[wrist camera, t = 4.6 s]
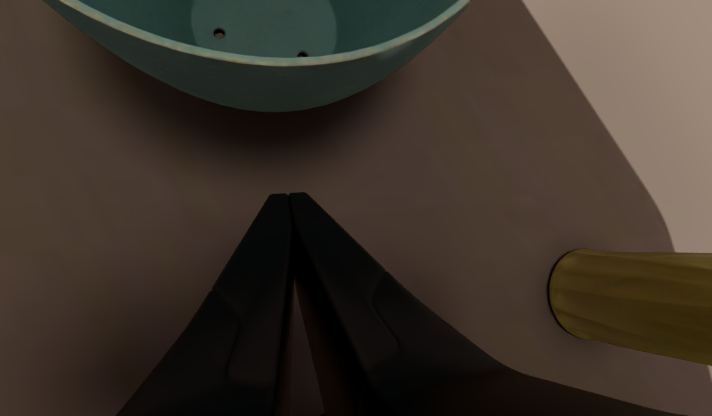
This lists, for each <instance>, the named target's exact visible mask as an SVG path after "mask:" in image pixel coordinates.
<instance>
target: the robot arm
mask: <svg viewBox="0 0 712 416" xmlns="http://www.w3.org/2000/svg"><path fill="white" fill-rule="evenodd" d="M294 281H295V286H296V291H297V296H298V300H299V304H300V308H301V312H302V317H303V321H304V325H305V329H306V334H307V338H308V342H309V346H310V350H311V355H312V359H313V363H314V367H315V372H316V376H317V380H318V384H319V388H320V393H321V397H322V401H323V405H324V410H325V414H322V415H320V416H686V415H680V414H673V413H668V412H664V411H659V410H655V409H651V408H647V407H643V406H640V405H636V404H632V403H629V402H625V401H621V400H617V399H614V398H610V397H606V396H603V395H599V394H595V393H592V392H588V391H584V390H581V389H577V388H573V387H570V386H566V385H562V384H559V383H555V382H551V381H548V380H544V379H540V378H536V377H533V376H529V375H526V374H523V373H520V372H518V371H515V370H513V369H511V368H509V367H507V366H505V365H503V364H502V363H500V362H498V361H497V360H495V359H494V358H492V357H491V356H489V355H488V354H487V353H485V352H484V351H483V350H481V349H480V348H479V347H477V346H476V345H475V344H474V343H472V342H471V341H470V340H468V339H467V338H466V337H465V336H463V335H462V334H461V333H459V332H458V331H457V330H456V329H454V328H453V327H452V326H450V325H449V324H448V323H447V322H445V321H444V320H443V319H441V318H440V317H439V316H438V315H436V314H435V313H434V312H432V311H431V310H430V309H429V308H428V307H426V306H425V305H424V304H423V303H421V302H420V301H419V300H418V299H417V298H415V297H414V296H413V295H412V294H411V293H410V292H409V291H408V290H407V289H405V288H404V287H403V286H402V285H401V284H400V283H399V282H398V281H397V280H396V279H395V278H394V277H393V276H392V275H391V274H390V273H388V272H387V271H385V269H384V268H383V267H382V266H381V265H380V264H379V263H378V262H377V261H376V260H375V259H374V258H373V257H372V256H371V255H370V254H369V253H368V252H367V251H366V250H365V249H364V248H363V247H362V246H360V245H359V244H358V243H357V242H356V241H355V240H354V239H353V238H352V237H351V236H350V235H349V234H348V233H347V232H346V231H345V230H344V229H343V228H342V227H341V226H340V225H339V224H338V223H337V222H336V221H335V220H334V219H333V218H332V217H331V216H330V215H329V214H328V213H327V212H325V211H324V210H323V209H322V208H321V207H320V206H319V205H318V204H317V203H316V202H315V201H314V200H313V199H312V198H311V197H310V196H309V195H308V194H307V193H305V192H300V193H290V194H289V195H287V194H286V193H282V194H271V195H269V197H268V198H267V200H266V202H265V203H264V205H263V206H262V208H261V210H260V211H259V213H258V215H257V216H256V218H255V219H254V221H253V223H252V224H251V226H250V227H249V229H248V231H247V232H246V234H245V235H244V237H243V239H242V240H241V242H240V243H239V245H238V247H237V248H236V250H235V252H234V253H233V255H232V256H231V258H230V260H229V261H228V263H227V264H226V266H225V268H224V269H223V271H222V272H221V274H220V276H219V277H218V279H217V281H216V282H215V284H214V285H213V287H212V291H210V292H209V293H208V295H207V296H206V298H205V300H204V301H203V303H202V304H201V306H200V307H199V309H198V310H197V312H196V313H195V315H194V316H193V318H192V319H191V321H190V322H189V324H188V325H187V327H186V328H185V329H184V331H183V332H182V333H181V335H180V336H179V337H178V339H177V340H176V341H175V343H174V344H173V345H172V346H171V348H170V349H169V350H168V352H167V353H166V354H165V355H164V357H163V358H162V359H161V360H160V362H159V363H158V364H157V365H156V367H155V368H154V369H153V370H152V372H151V373H150V374H149V375H148V377H147V378H146V379H145V380H144V382H143V383H142V384H141V385H140V386H139V388H138V389H137V390H136V391H135V393H134V394H133V395H132V396H131V398H130V399H129V400H128V401H127V403H126V404H125V405H124V406H123V408H122V409H121V410H120V411H119V413H118V414H117V415H116V416H289V398H290V373H291V349H292V325H293V301H294Z"/></svg>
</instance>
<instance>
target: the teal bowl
mask: <svg viewBox="0 0 712 416" xmlns="http://www.w3.org/2000/svg"><path fill="white" fill-rule="evenodd" d="M43 1H44V2H46V3H47V4H48V5H49V6H51V7H52V8H53V9H54V10H55V11H57V12H58V13H59V14H60V15H62V16H63V17H64V18H65V19H67V20H68V21H69V22H70V23H72V24H73V25H74V26H75V27H77V28H78V29H79V30H81V31H82V32H83V33H85V34H86V35H88V36H89V37H90V38H92V39H93V40H95V41H96V42H97V43H99V44H100V45H102V46H103V47H104V48H106V49H107V50H109V51H110V52H112V53H114V54H115V55H117V56H118V57H120V58H121V59H123V60H124V61H126V62H127V63H129V64H131V65H132V66H134V67H136V68H137V69H139V70H141V71H143V72H144V73H146V74H148V75H150V76H152V77H154V78H156V79H158V80H160V81H162V82H164V83H166V84H168V85H170V86H172V87H174V88H176V89H178V90H180V91H183V92H185V93H188V94H190V95H192V96H195V97H197V98H201V99H204V100H207V101H210V102H213V103H216V104H219V105H223V106H228V107H233V108H237V109H243V110H250V111H259V112H290V111H299V110H306V109H310V108H315V107H320V106H324V105H327V104H331V103H333V102H336V101H339V100H341V99H344V98H347V97H349V96H351V95H354V94H356V93H358V92H360V91H362V90H364V89H366V88H368V87H370V86H372V85H374V84H375V83H377V82H379V81H381V80H382V79H384V78H386V77H387V76H389V75H390V74H392V73H393V72H395V71H396V70H397V69H399V68H400V67H402V66H403V65H404V64H406V63H407V62H408V61H410V60H411V59H412V58H413V57H415V56H416V55H417V54H418V53H419V52H421V51H422V50H423V49H424V48H426V47H427V46H428V45H429V44H430V43H431V42H432V41H433V40H435V39H436V38H437V37H438V36H439V35H440V34H441V33H442V32H443V31H444V30H445V29H446V28H447V27H448V26H449V25H450V24H451V23H452V22H453V21H454V20H455V19H456V18H457V17H458V16H459V15H460V14H461V13H462V12H463V11H464V10H465V8H466V7H467V6H468V5H469V4H470V2H471V1H472V0H43ZM215 30H222V31H223V32H224V33H225V35H224V37H223V38H221V39H219V38H216V37H215V36H214V32H215ZM300 53H304V54H306V55H307V57H298V55H299V54H300Z"/></svg>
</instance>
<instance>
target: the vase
mask: <svg viewBox="0 0 712 416" xmlns="http://www.w3.org/2000/svg"><path fill="white" fill-rule="evenodd" d="M549 296H550V303H551V307H552V309H553V312H554V314H555V316H556V318H557V320H558V321H559V323H560V324H561V325H562V326H563V327H564V328H565V329H566V330H567V331H568V332H570V333H571V334H573V335H574V336H577V337H579V338H581V339H585V340H598V341H602V342H605V343H609V344H613V345H617V346H621V347H624V348H629V349H633V350H638V351H643V352H648V353H653V354H658V355H662V356H668V357H673V358H678V359H683V360H687V361H692V362H697V363H701V364H706V365H711V366H712V253H676V252H651V253H634V252H605V251H596V250H590V249H579V250H575V251H572V252H570V253H568V254H567V255H565V256H564V257H563V258H562V259H561V260H560V261H559V262H558V263H557V265H556V267H555V268H554V271H553V273H552V276H551V280H550V285H549Z"/></svg>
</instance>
